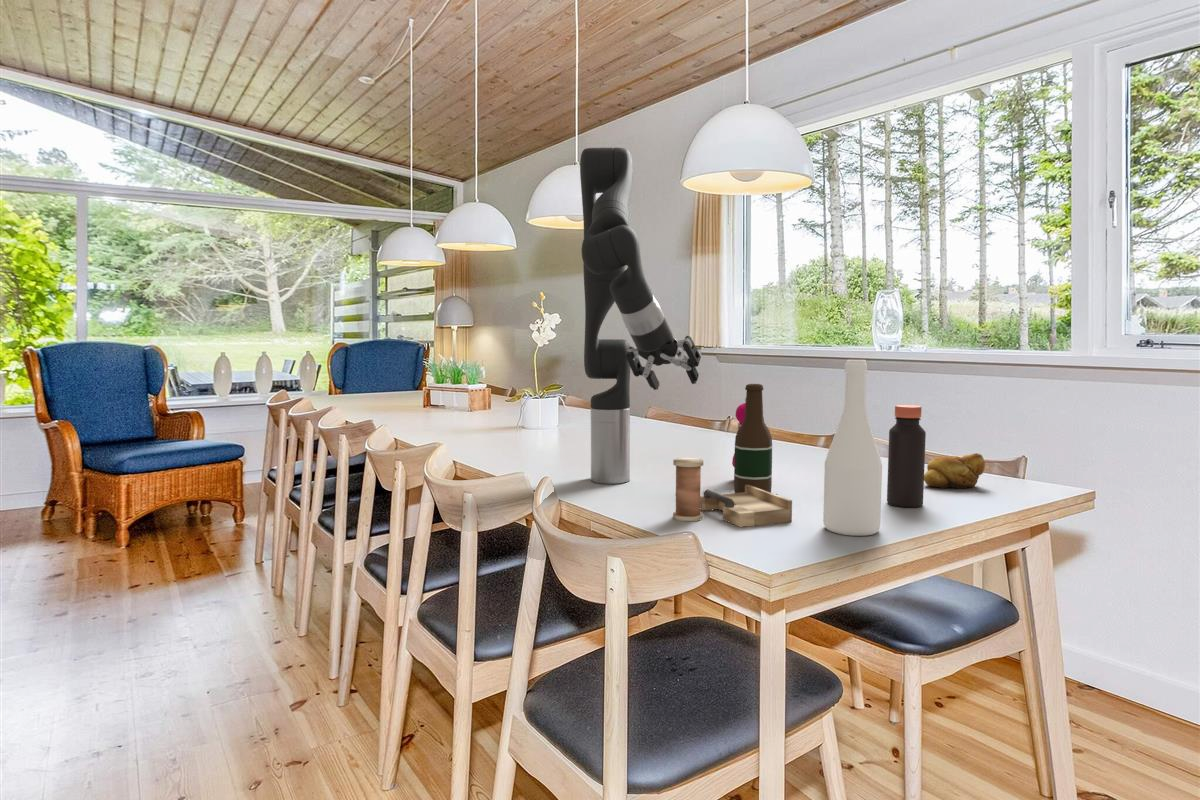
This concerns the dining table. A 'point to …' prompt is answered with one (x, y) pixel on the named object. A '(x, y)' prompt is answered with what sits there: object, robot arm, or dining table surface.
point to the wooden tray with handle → (749, 506)
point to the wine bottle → (853, 465)
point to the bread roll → (954, 471)
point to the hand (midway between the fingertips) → (675, 384)
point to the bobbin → (688, 489)
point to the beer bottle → (753, 445)
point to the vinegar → (906, 458)
